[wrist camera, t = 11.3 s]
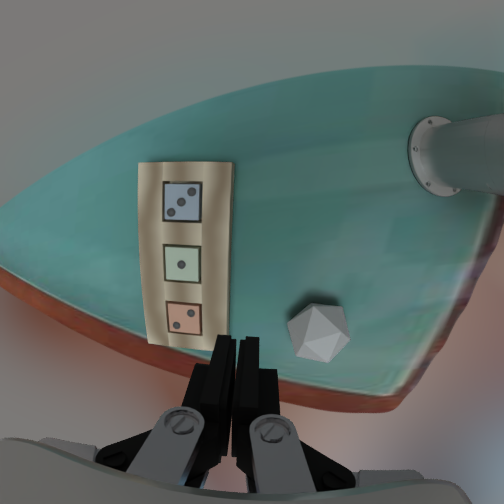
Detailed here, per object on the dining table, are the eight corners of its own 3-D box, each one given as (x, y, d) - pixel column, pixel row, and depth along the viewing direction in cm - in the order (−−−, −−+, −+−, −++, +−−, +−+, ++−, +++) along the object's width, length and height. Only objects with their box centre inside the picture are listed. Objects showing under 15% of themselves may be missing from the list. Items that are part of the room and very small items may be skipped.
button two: (202, 297, 41) (198, 307, 38) (203, 323, 42) (199, 334, 39) (173, 295, 41) (167, 304, 38) (175, 321, 42) (169, 331, 39)
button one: (202, 243, 39) (197, 249, 35) (202, 274, 40) (198, 282, 37) (171, 241, 39) (164, 247, 35) (172, 271, 40) (165, 279, 37)
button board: (234, 163, 37) (231, 162, 33) (228, 337, 44) (226, 352, 40) (149, 163, 37) (138, 162, 33) (156, 330, 44) (148, 343, 40)
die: (274, 316, 43) (287, 375, 37) (301, 285, 37) (321, 353, 31) (317, 316, 46) (333, 370, 40) (347, 288, 40) (369, 347, 34)
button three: (204, 183, 36) (198, 184, 33) (203, 216, 38) (198, 220, 34) (172, 183, 37) (164, 184, 33) (171, 215, 38) (164, 219, 35)
